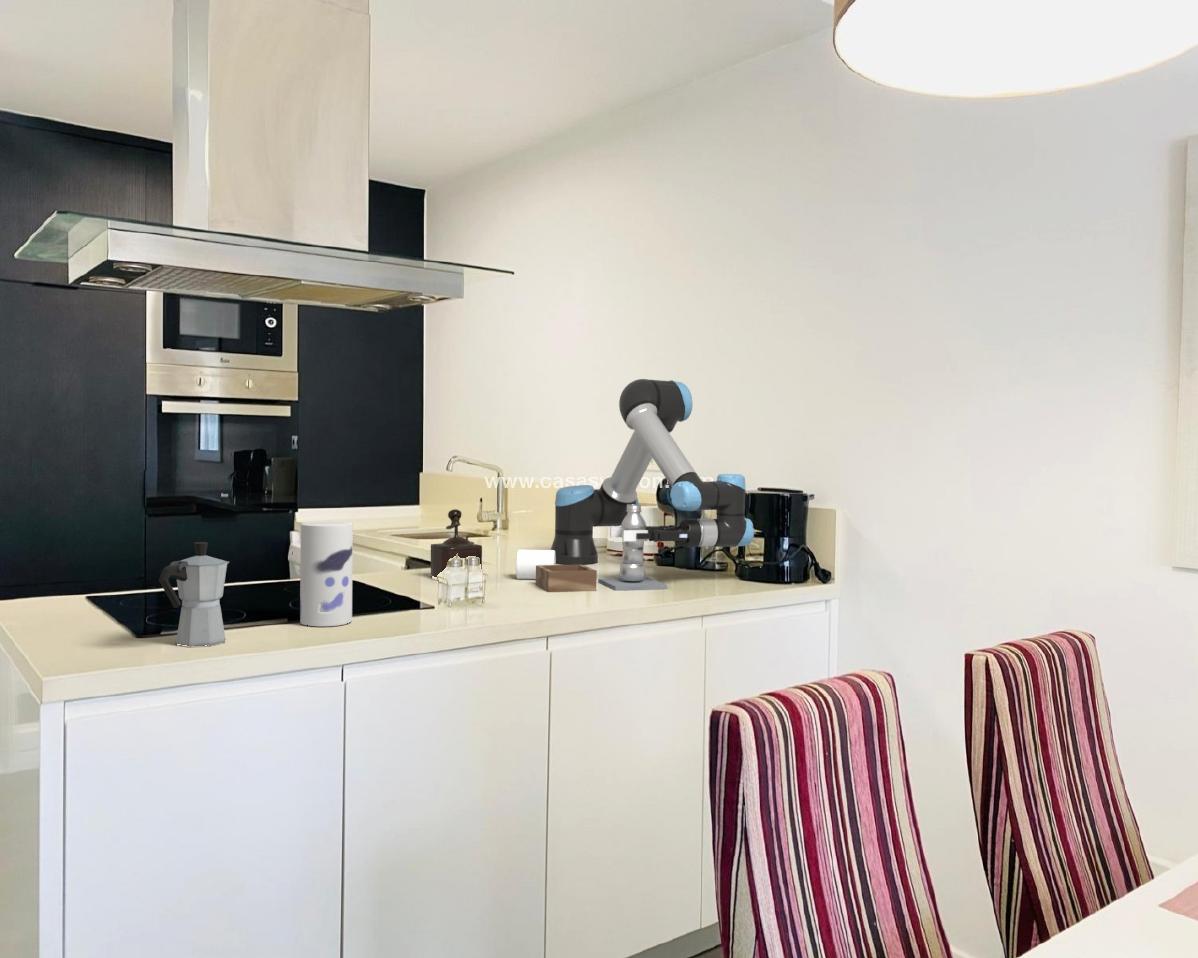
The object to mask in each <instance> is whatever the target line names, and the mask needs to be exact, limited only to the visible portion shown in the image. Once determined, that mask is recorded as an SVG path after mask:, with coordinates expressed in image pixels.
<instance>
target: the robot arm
mask: <svg viewBox="0 0 1198 958" xmlns="http://www.w3.org/2000/svg"><path fill="white" fill-rule="evenodd" d="M618 401H619V402H618V407H619V408H618V409H619V412H620V413H619V414H620V416H621V418H622V420H623V421H624V423H625V424H626V427H627V428H629V429H630V430H633V432H632V434H631V437H630V439H629V440H628V442H627V445H626V446H625V449H624V451H623V453H622V454H621V456H620V458H619V460H618V462H617V464H616V466H615V468H614V470H613V472H612V474H611V476H610V477H607V478H605V479H604V480H603V481H602V483H601V485H600V487H599V488H598V489H595V488H594V486H593V485H590V484H580V485H579V484H577V485H570V486H564V487H561V488H559V489H558V490H556V492H555V500H554V505H555V506H554V509H555V510H554V511H555V513H554V518H555V519H554V522H555V523H554V538H553V541H552V544H551V547H550V550H555V556H556V564H559V565H576V564H582V565H587V564H588V565H590V564H596V563H598V562H599V555H598V554H599V553H598V551H597V547H596V544H595V543H596V542H595V540H594V534H593V533H594V532H593V530H594V528H596V527H597V528H598V527H609V538H622V529H621V524H622V521H623V520H624V518H625V517H626V515H627V513H628V512H626V510H627V505H628V504H637V505H640V504H639V497H638V493H637V488H638V486H639V484H640V483H641V480H642V478H643V476H644V475H645V473H646V471H647V469H648V467H649V465H650V463H651V461H652V460H653V461H654V463H656V465H657V467H658V468H659V470H660V471H661V474H663V476H664V477H665V479H666V481H667V482H668V483H669V485H670V486H671V487H670V488H671V489H670V494H669V495H670V496H669V497H670V499H671V504H672V506H673V507H674V508H675V509H676V510H677V511H683V512H684V511H685V512H694V511H696V512H697V511H716V518H711V517H710V518H683V519H682V520H681V521H680V523H679V525H674V524H673V525H672V524H669V525H659V526H658V525H657V526H655V525H654V526H653V525H649V526H648V525H646V530H623V539H622V542H623V541H644V542H654V543H658V542H679V543H680V545H681V546H682V547H683V548H697V547H698V548H699V547H700V548H704V549H705V550H708V549H709V547H710V548H716V547H717V548H719V547H720V548H723V547H724V548H726V547H731V548H733V547H735V548H736V547H745V546H746V547H747V546H749V545H750V544H752V542H753V540H754V536H755V528H754V524H753V522H752V520H751V519H749V518H746V515H745V514H746V513H745V510H746V492H747V490H746V478H745V476H744V475H743V474H737V473H719V474H718V475H717V479H716V481H715V480H713V481H703V480H702V479H701V477H700V476H699V475H698V473H697V472H696V471H695V469H694V467H693V466H692V465H691V462H689V460H688V459H687V457H686V455H685V454H684V453H683V451H682V450H681V449H680V447H679V446H678V444H677V442H676V441H675V440H674V437H673V436H672V435H671V434H670V433H672V432H673V431H674V428H675V426H676V425H677V423H678V422H680V423H681V422H685V421H687V420H688V419H689V417H690V416H691V413H692V412H693V397H692V393H691V390H690V388H688V386H687V385H686V384H685V383H683V382H681V381H676V380H672V379H671V380H661V379H648V378H639V379H635V380H633V381H631V382H629V383H628V384H627V385H626V386H625V387H624V388H623V390H622V391H621V394H620V396H619V400H618Z"/></svg>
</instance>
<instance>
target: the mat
mask: <svg viewBox="0 0 1198 958" xmlns="http://www.w3.org/2000/svg"><path fill="white" fill-rule="evenodd" d="M597 583H598V584H601V585H603V586H605V587H606V588H609V589H611V590H613V591H639V590H642V591H643V590H645V591H648V590H667V589H668V584H666V583H663V582H661V581H658V580H656V579H653V578H651V577H648V576H647V577H646V576H644V578H643V580H641V581H636V582H628V581H625V580H622V579H621V577H617V578H616V577H615V578H613V577H611V578H609V577H607V578H598V582H597Z"/></svg>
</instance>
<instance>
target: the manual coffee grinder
mask: <svg viewBox="0 0 1198 958" xmlns="http://www.w3.org/2000/svg"><path fill="white" fill-rule="evenodd" d="M447 518H448V519H450V524H449V525H447V526H445V530H452V529H454V534H453V537H450V538H449V537H448V539H445V540H444V541H443V542H441V543H433V544H432V543H431V544H430V576H431V575H432V576H434V577H437V575H438V574H439V573H440V572H442V571H443V570H444V569H445V568H446V565H447V562H448V560H449V559H450V558H453V557H454V556H456V554H457V553H458V556H459V557H460V558H466V557H468V556H476V557H479V558H480V564H481V569H482V570H483V568H482V567H483V546H482V545H481V544H476V543H475V542H474V541H470V540H469V535H467V536H466V537H463V536H460V535H459V526H461V523H460V519H461V518H462V511H461V510H459V509H455V508H453V509H451V510H449V511H448V513H447Z"/></svg>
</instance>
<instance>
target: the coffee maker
mask: <svg viewBox="0 0 1198 958" xmlns="http://www.w3.org/2000/svg"><path fill="white" fill-rule="evenodd" d="M208 544H209V542H208V541H205V542H204V541H199V542H197V541H196V542H194V543H193V546H194V552H195V555H193V556H190V557H188V558H184V559H182V560H175V561H172V562H170V564H169V565H167V566H165V567H164V568H162V571H161V573H160V576H159V579H158V582H159V584H160V586H161V587H162V588H163V591H164V592H165V594H166V596H167V597H168V599H169V601H170V602H171V605H172V606H173V608H175V609H178V608H179V607H180V605H181V608H180V616H179V622H178V628H177V633H176V639H175V640H176V641H175V644H176V643H177V644H181V645H187V646H205V645H207V646H208V645H209V646H208V647H212V646H211V645H214V646H216V645H215V644H218V645H220V644H219V643H223V644H225V643H226V634H225V626H224V621H223V614H222V608H221V604H220V599H221V598H222V597H223V596H224V588H225V584H226V583H225V581H226V573H227V568H228V564H229V563H230V561H227V560H223V559H219V558H216V557H212V556H209V555H207V549H208ZM170 578H172V579H174V580H176V584H177V591H178V592H177V593H178V595H177V593H176V591H175V590H174V588H173V586H172V584H171V583H170V581H169V579H170Z"/></svg>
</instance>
